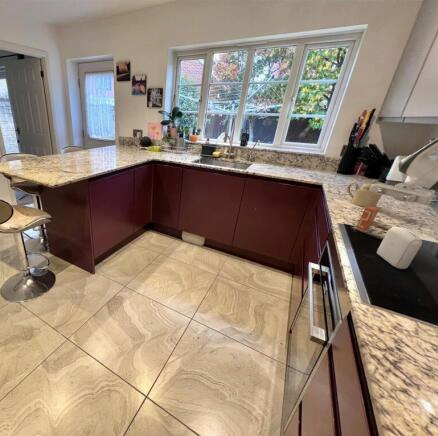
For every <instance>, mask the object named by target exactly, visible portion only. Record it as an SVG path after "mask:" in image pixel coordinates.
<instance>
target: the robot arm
mask: <svg viewBox="0 0 438 436" xmlns="http://www.w3.org/2000/svg"><path fill="white" fill-rule="evenodd" d="M437 151H438V137H437V138H434V140H432V141H430V142H429V143H427V144H426V145H424V146H423V147H421V148H420V149H418V150H416V151H414V152H413V153H411V154H410V155H407V156H406V157H404V158H403V159H401V161H400V162H399V163H398V165H397V166H398V167H397V168H398V172H399V173H402V174H404V175H405V176H408V177H409V178H411V179H413V180H410V181H405V182H400V183H399V182H398V183H397V184H395V185H390V184H386V183H375V184H372V185H371V187H370V191H371V192H375V193H378V194H382V195H384V196H388V197H392V198H393V199H394V200H395V201H397V202H398V201H399V202H406V203H416V204H420V205H426V206H427V205H430V203H431V201H432V200H433V199H434V197H435V194H436V192H437V191H438V162H437V161H436V160H434V159H432V158H430V155H432V154H434V153H435V152H437Z"/></svg>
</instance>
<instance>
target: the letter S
mask: <svg viewBox="0 0 438 436" xmlns="http://www.w3.org/2000/svg"><path fill="white" fill-rule="evenodd" d="M379 211H380V207H377V206H376V207H373V206H369V207H364V209H363V212H362V214H361V216H360V218H359V219H358V220H359V221H357V224H356V225H357V226H356V225H355V226H356V228H357V229H360V230H363V231H364V230H367V229H370V228H371V227H372V226H371V225H372V223H373V221H375V219H376V217H377V215H378V213H379Z"/></svg>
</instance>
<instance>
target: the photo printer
mask: <svg viewBox="0 0 438 436" xmlns="http://www.w3.org/2000/svg"><path fill="white" fill-rule="evenodd" d="M422 245H423V241H422V238H421V237H420V236H419V235H418V234H416V233H415V232H413V231H412V230H410V229H408V228H405V227H401V226H392V228H390V229H389V230H388V231H386V235H385V237H384V239H383V240H382V241H381V243H380V245H379V247H378V248H377V251H376V254H377V255H378V256H380V257H381V258H382V259H383V260H385V261H386V262H388V264H390V265H391V266H393V267H395V269H400V270H405V269H408V268H409V266H410V264H411V263H412V261H413V260H414V258H415V256H416V255H417V253H418V251H419V250H420V249H421V247H422Z"/></svg>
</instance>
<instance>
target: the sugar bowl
mask: <svg viewBox="0 0 438 436" xmlns="http://www.w3.org/2000/svg"><path fill="white" fill-rule="evenodd" d="M372 184H377V179H373V180H372V181H371V182H370V183H365V184H362V185H361V187H360V186H359V184H358V183H357V182H351V183H349V185H348V186H347V194H348V195H349V196H350V197H351V198H352V199H351V203H352V204H354V205H356V206H358V207H363V208H366V207H369V206H373V207H377V205H378V203H379V201H380V200H381V197H382V195H383V194H378V193H375V192H371V191H370V187H371V185H372ZM352 185H354V186H355V193H354V195H353V193H352V192H351V188H352V187H351V186H352Z"/></svg>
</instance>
